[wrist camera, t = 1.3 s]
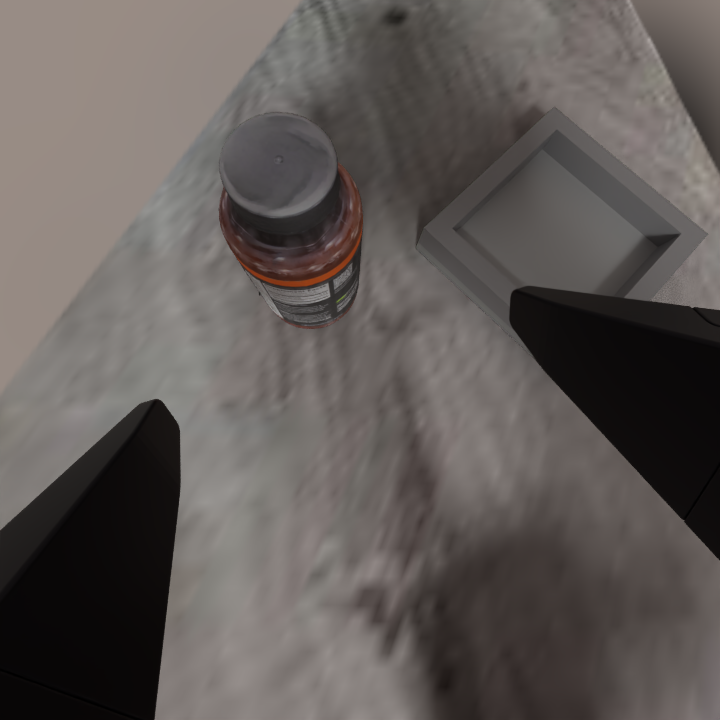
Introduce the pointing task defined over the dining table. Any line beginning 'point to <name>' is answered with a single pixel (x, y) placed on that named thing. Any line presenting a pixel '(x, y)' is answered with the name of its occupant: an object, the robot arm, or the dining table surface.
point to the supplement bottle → (292, 217)
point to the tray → (558, 225)
